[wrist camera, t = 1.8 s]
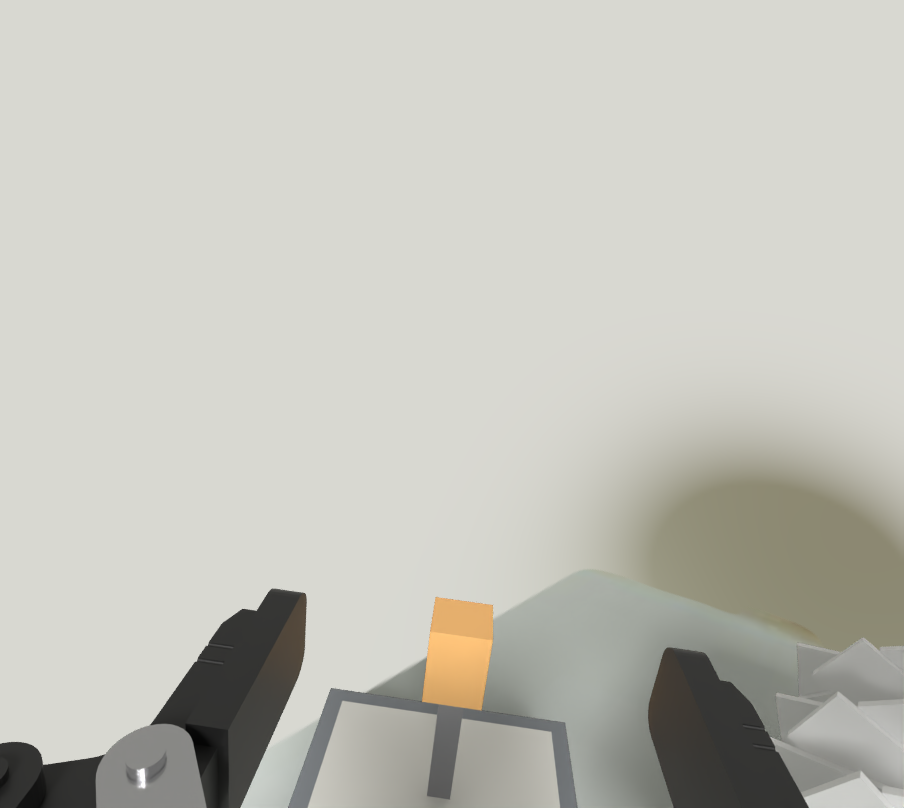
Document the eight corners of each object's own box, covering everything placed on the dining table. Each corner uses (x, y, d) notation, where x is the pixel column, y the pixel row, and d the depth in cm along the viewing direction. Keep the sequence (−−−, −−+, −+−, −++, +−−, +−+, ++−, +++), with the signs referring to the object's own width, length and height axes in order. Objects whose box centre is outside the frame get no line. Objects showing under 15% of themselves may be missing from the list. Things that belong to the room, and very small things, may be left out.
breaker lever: (464, 813, 27) (492, 640, 24) (409, 805, 27) (429, 631, 24) (467, 769, 29) (492, 605, 26) (416, 761, 30) (435, 597, 26)
